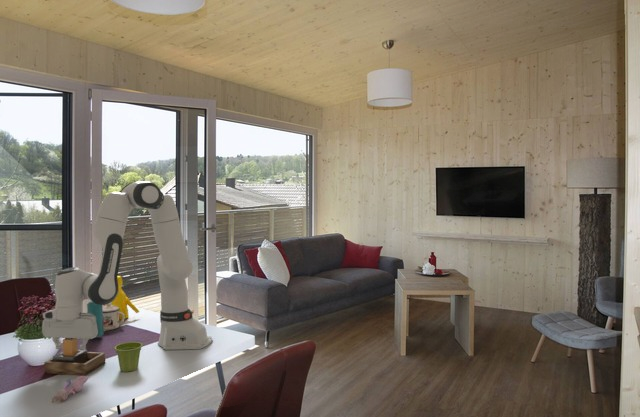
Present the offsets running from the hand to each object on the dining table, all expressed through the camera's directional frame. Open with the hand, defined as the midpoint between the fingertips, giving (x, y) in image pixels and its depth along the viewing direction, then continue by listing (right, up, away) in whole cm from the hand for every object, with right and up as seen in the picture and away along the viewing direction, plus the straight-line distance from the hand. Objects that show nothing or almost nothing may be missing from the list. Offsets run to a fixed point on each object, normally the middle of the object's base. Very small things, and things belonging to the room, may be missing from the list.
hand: (70, 349), depth 177 cm
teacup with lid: (-6, -5, +50) cm, 50 cm away
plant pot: (+22, -7, -1) cm, 23 cm away
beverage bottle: (-7, -5, +34) cm, 35 cm away
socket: (0, -7, 0) cm, 7 cm away
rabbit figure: (+12, -9, -21) cm, 26 cm away
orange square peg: (0, -6, 0) cm, 6 cm away
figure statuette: (-8, -4, +64) cm, 65 cm away
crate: (+2, -7, 0) cm, 7 cm away
